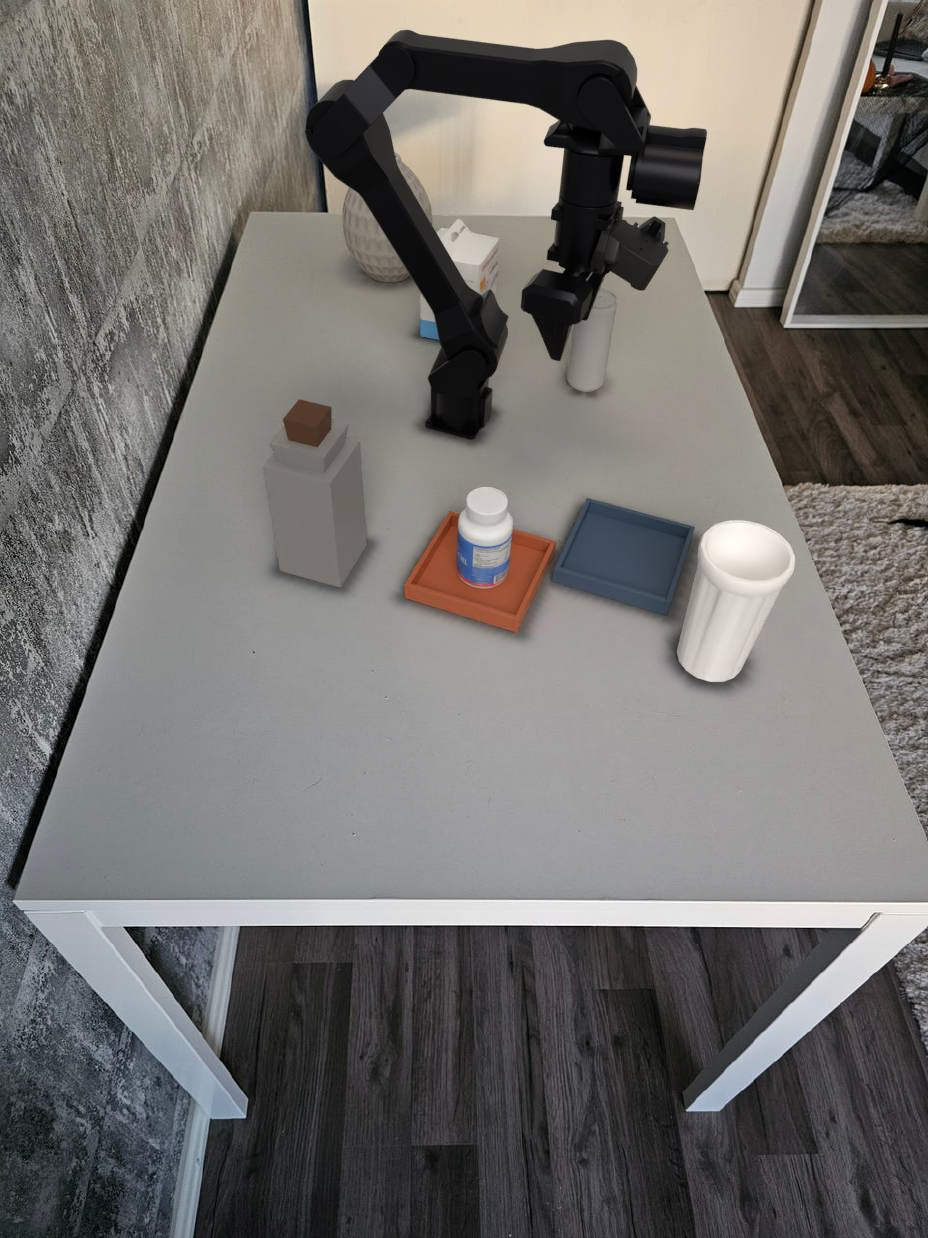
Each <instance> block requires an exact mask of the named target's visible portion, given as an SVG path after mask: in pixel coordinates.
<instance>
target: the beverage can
mask: <svg viewBox="0 0 928 1238" xmlns="http://www.w3.org/2000/svg"><path fill="white" fill-rule="evenodd" d="M617 300H618V298H617V296H616V294H615V293H614V292H613V291H611V290H609V289H607V288H602V287H600V290H599V292H598V295H597V297H596V300H595V302H594V305H593V307H592V310H591V312H590V315H589V317H588V319H587V320H586V321H584V320H582V321H581V322H580V323H578V324H573V325H572V335H571V341H570V349H569V357H568V365H567V372H566V381H567V383H568V384H569V386H570V387H571V388H573V389H575V390H576V391H579V392H583V393H592V392H595V391H597V390H599V389H600V388H601V387H602V386H603V385H604V383H605V378H606V372H607V367H608V362H609V361H608V360H609V355H610V349H611V343H612V337H613V331H614V324H615V319H616V313H617V308H618V303H617Z"/></svg>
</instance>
